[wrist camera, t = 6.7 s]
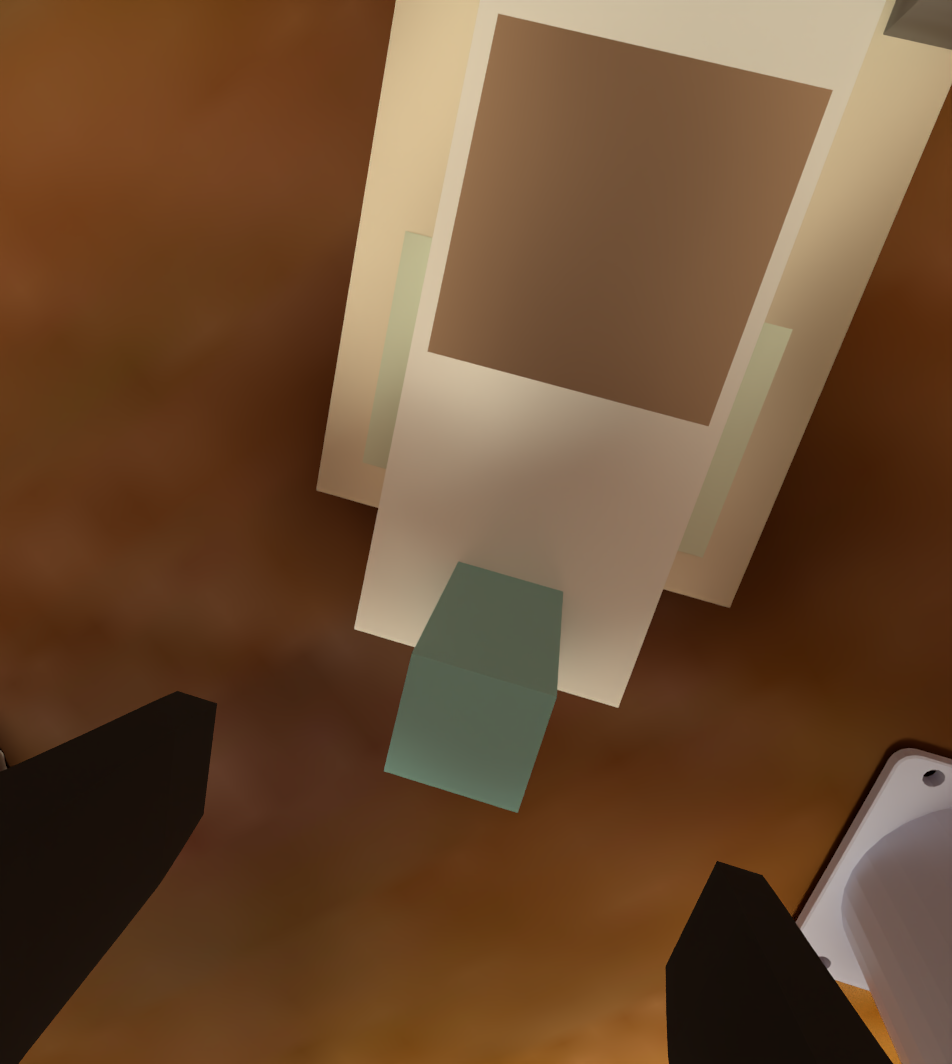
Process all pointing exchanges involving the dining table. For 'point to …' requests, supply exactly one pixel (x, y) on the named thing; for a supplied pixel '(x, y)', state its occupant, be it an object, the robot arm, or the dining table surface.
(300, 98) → the dining table surface
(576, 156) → the walnut block
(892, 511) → the dining table surface
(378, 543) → the block
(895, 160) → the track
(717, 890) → the robot arm
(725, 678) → the dining table surface
